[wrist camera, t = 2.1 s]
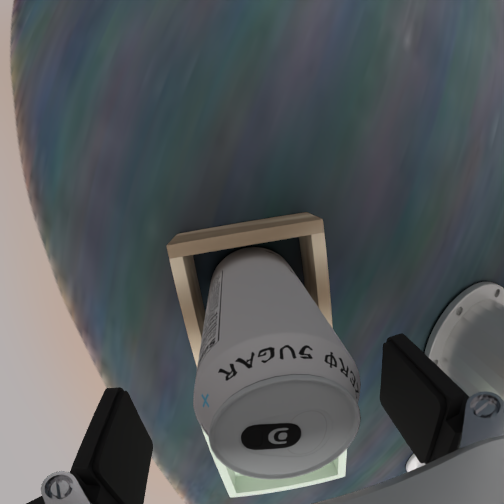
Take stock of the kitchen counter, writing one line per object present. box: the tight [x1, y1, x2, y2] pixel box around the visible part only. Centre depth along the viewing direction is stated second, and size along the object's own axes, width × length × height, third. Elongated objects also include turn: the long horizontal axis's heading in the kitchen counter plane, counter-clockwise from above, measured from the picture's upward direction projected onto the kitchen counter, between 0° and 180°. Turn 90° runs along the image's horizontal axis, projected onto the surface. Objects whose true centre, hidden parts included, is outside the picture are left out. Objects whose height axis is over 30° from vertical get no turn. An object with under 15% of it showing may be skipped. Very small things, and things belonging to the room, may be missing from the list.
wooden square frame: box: [167, 212, 332, 366], centre depth 21 cm, size 9×9×4 cm
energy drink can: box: [193, 247, 361, 479], centre depth 16 cm, size 6×6×15 cm
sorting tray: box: [201, 427, 347, 498], centre depth 25 cm, size 12×12×3 cm
